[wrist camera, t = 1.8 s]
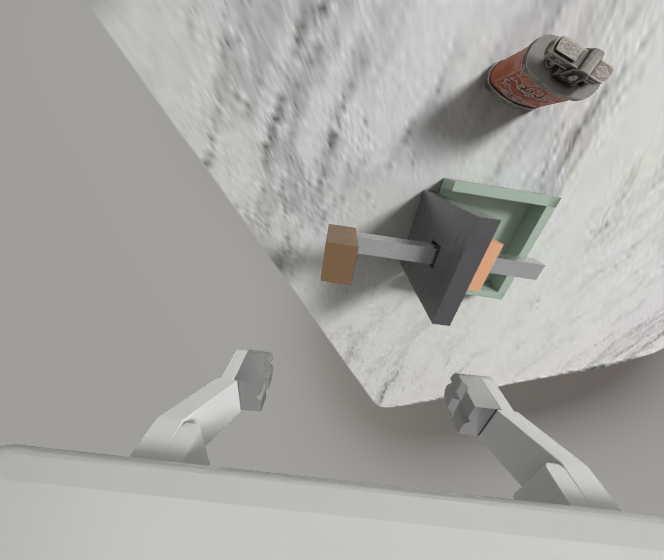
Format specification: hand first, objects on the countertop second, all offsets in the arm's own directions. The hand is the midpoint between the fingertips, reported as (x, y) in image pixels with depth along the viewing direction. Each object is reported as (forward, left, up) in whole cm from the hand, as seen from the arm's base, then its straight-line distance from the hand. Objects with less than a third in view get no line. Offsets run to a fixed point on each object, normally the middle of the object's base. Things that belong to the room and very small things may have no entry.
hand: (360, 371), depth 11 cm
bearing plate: (+11, -1, -30) cm, 32 cm away
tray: (+20, -1, -30) cm, 36 cm away
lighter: (+17, +18, -30) cm, 39 cm away
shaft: (+10, -1, -21) cm, 23 cm away
